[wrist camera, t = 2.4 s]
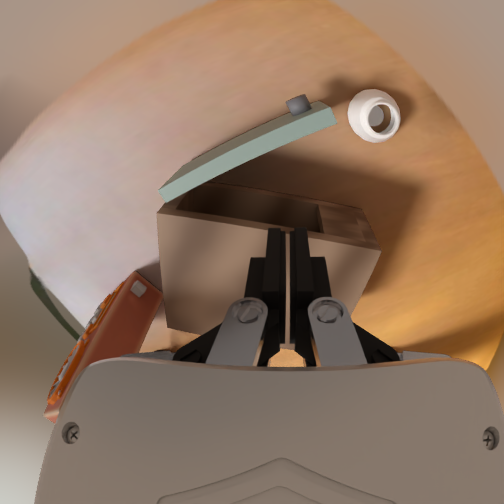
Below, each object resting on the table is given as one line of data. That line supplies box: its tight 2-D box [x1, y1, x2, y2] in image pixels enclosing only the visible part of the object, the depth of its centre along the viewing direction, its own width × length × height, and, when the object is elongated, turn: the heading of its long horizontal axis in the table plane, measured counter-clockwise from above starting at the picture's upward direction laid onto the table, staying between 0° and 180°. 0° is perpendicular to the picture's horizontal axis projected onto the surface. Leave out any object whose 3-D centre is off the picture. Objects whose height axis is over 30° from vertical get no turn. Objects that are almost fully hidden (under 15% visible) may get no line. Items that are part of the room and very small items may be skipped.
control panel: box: [44, 271, 163, 423], centre depth 30 cm, size 21×7×15 cm
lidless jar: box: [348, 89, 401, 143], centre depth 20 cm, size 5×3×5 cm
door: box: [158, 94, 337, 203], centre depth 21 cm, size 14×2×6 cm, turn 118°
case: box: [157, 182, 382, 350], centre depth 28 cm, size 18×14×8 cm
